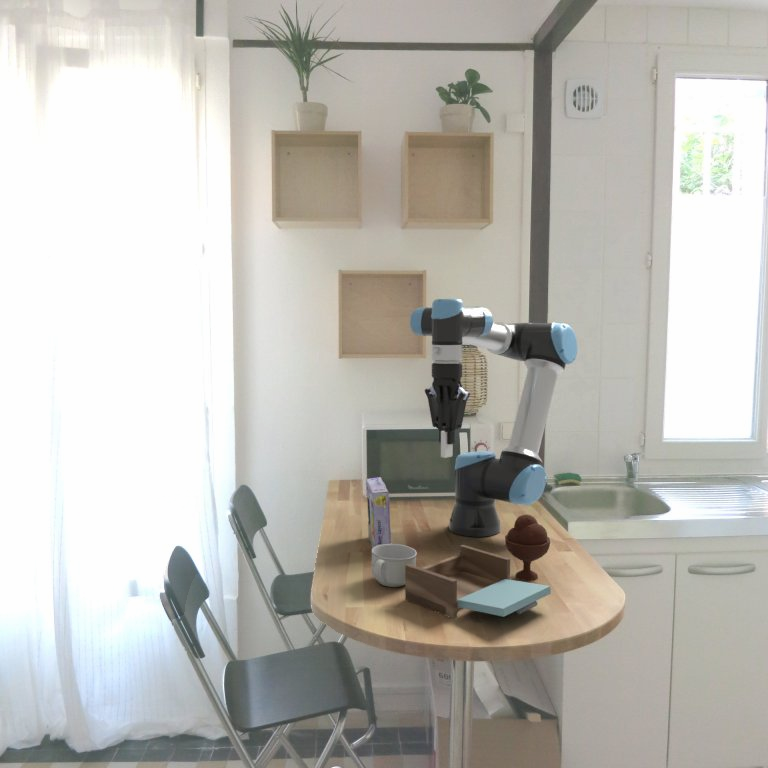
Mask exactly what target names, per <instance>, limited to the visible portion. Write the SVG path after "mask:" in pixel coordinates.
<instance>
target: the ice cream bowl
mask: <svg viewBox="0 0 768 768" xmlns="http://www.w3.org/2000/svg"><path fill="white" fill-rule="evenodd" d="M504 539H505V540H504V542H505V546H506V549H507V551H508V552H509V553H510V554H511V555H512V556H513V557H514V558H516V559H518V560H520V561H522V563H523V569H521V570H520V571H517V572H516V573H515V578H516V579H518V580H519V581H523V582H531V581H532V582H534V581H537V580H538V579H539V576H538V573H537V572H536V571H533V570H531V564H532V562H535V561H536V560H539V559H541V558H543V557H544V556H545V555H546V554H547V553H548V551H549V549H550V544H551V539H550V537H548V532H547V530H546V528H545V527H544V526H543V525H541V524H539V522H538V520H537V519H536V518H535V517H534V516H532V515H531V514H522V515H520V516H518V517H517V518H516V520H515V521H514V525H513V527H512V528H511V529H509V530H508V532H507V535H504Z"/></svg>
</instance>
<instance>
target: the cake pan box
mask: <svg viewBox="0 0 768 768" xmlns="http://www.w3.org/2000/svg"><path fill="white" fill-rule="evenodd" d="M365 485H366V497H367V499H366V500H367V515H368V516H367V517H368V522H367V523H368V525H367V527H368V528H367V529H368V530H367V531H368V539H369V542H370V544H371V547H372V548H373V547H375V546H377V545H382V544H392V537H391V536H392V535H391V532H392V531H391V511H390V510H391V509H390V492H389V490H388V488H387V486H386V484H385V482H384V481H383V480H382V477H372V478H366V484H365ZM372 548H371V549H372Z"/></svg>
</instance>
